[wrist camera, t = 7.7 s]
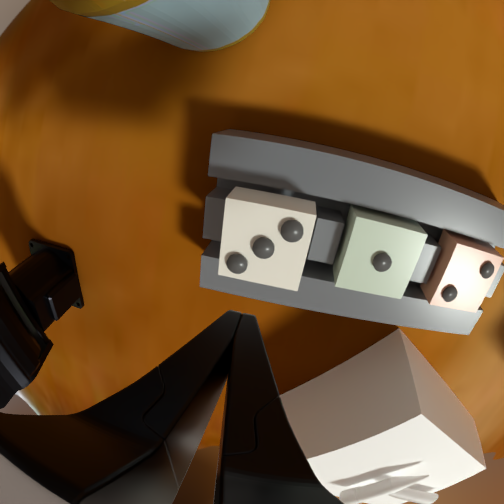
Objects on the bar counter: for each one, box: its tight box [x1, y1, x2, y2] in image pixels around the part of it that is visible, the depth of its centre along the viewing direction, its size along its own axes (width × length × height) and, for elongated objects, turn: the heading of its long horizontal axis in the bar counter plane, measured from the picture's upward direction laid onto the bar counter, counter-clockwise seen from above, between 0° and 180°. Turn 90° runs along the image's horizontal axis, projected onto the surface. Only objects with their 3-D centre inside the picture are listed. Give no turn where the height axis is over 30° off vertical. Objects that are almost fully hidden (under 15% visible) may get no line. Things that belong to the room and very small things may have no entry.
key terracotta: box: [420, 229, 503, 313], centre depth 14 cm, size 4×4×2 cm
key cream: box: [218, 186, 317, 291], centre depth 14 cm, size 4×4×2 cm
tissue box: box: [279, 328, 486, 504], centre depth 22 cm, size 14×25×11 cm, turn 47°
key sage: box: [333, 204, 428, 299], centre depth 15 cm, size 4×4×2 cm
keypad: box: [200, 129, 504, 335], centre depth 16 cm, size 19×9×4 cm, turn 82°
